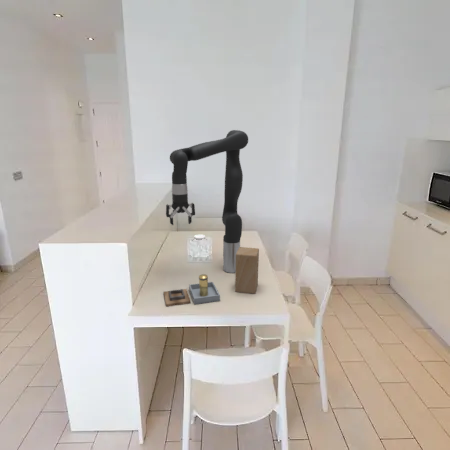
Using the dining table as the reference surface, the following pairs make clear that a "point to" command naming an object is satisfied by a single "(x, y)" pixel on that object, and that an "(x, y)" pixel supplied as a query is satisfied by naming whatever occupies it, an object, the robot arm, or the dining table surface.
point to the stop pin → (203, 285)
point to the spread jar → (199, 237)
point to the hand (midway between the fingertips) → (181, 224)
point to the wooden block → (246, 270)
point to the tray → (211, 297)
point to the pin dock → (176, 297)
